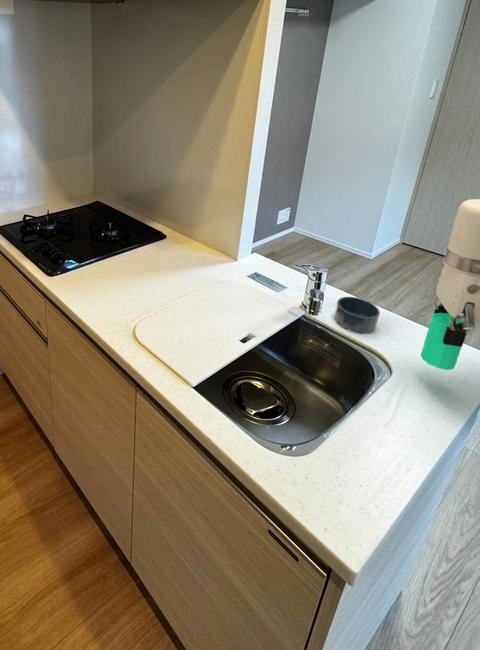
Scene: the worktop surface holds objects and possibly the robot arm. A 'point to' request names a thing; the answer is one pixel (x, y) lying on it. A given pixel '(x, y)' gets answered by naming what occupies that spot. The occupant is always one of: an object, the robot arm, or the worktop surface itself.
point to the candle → (440, 343)
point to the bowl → (356, 314)
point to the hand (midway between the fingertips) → (445, 334)
